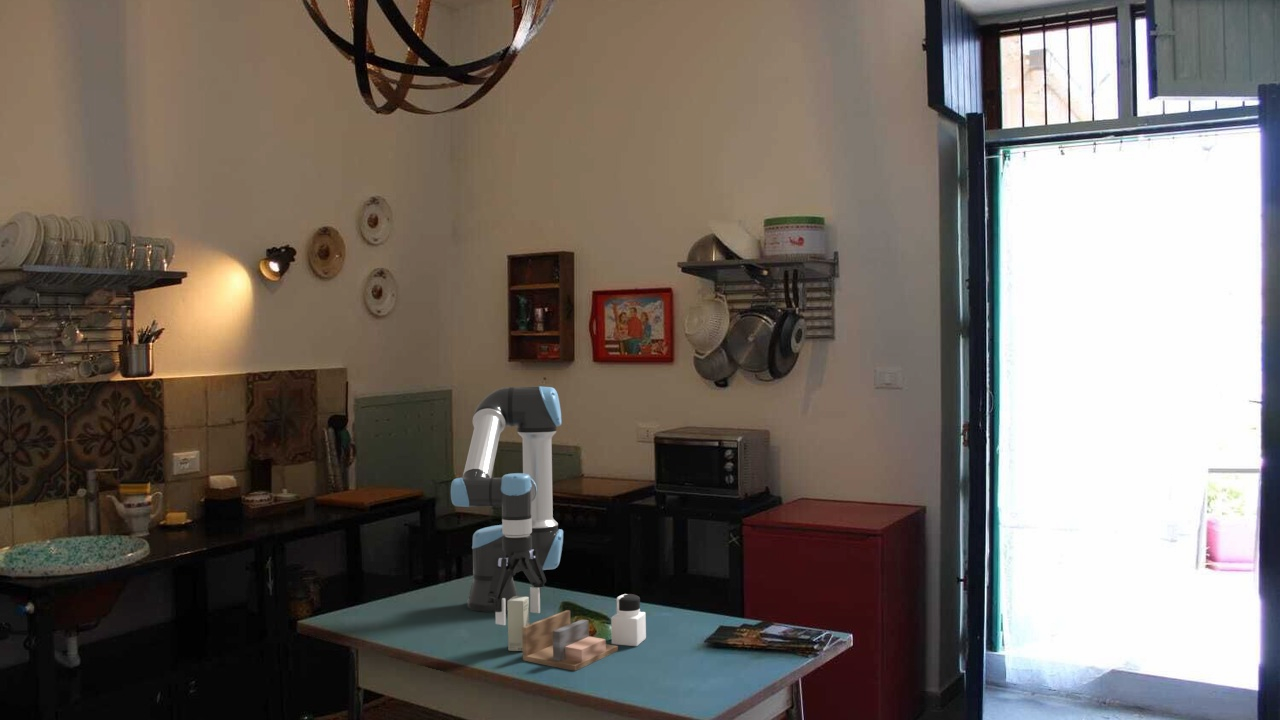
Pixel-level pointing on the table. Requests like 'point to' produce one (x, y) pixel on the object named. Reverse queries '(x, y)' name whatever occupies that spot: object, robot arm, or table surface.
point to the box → (517, 621)
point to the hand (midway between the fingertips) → (518, 618)
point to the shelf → (545, 643)
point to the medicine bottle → (628, 621)
